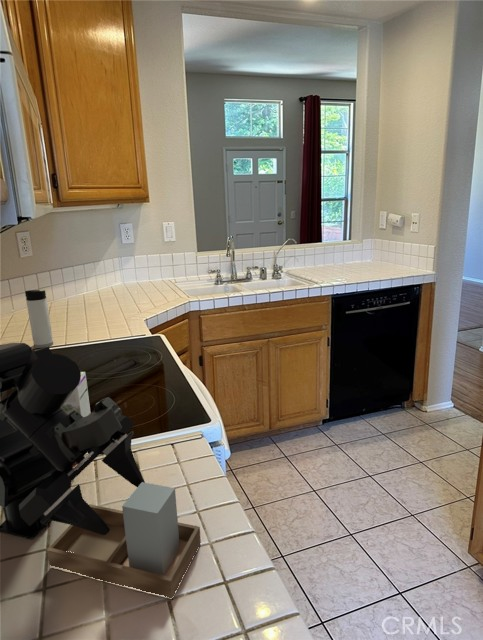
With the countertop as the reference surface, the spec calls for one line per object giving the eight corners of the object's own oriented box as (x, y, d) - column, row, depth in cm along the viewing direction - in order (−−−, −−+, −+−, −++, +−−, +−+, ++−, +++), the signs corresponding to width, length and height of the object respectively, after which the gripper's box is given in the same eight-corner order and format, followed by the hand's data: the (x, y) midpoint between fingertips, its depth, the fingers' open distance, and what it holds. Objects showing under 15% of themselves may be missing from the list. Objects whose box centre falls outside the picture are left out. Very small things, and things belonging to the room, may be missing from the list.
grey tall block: (129, 569, 58) (122, 506, 55) (148, 541, 62) (141, 482, 60) (163, 578, 56) (157, 513, 54) (179, 549, 61) (175, 488, 58)
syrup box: (94, 432, 93) (86, 370, 89) (85, 448, 88) (76, 381, 84) (67, 433, 93) (58, 371, 89) (57, 449, 87) (46, 383, 83)
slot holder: (50, 568, 59) (46, 550, 58) (91, 520, 68) (89, 504, 67) (172, 600, 54) (170, 581, 53) (200, 544, 62) (199, 526, 62)
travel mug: (29, 347, 149) (19, 290, 144) (42, 341, 155) (34, 287, 150) (44, 349, 147) (34, 291, 142) (57, 342, 154) (49, 287, 148)
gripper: (23, 427, 47) (123, 531, 47) (117, 364, 64) (190, 440, 64) (-21, 478, 51) (70, 573, 51) (78, 406, 68) (146, 477, 68)
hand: (126, 508), depth 58 cm, fingers open, 9 cm apart
